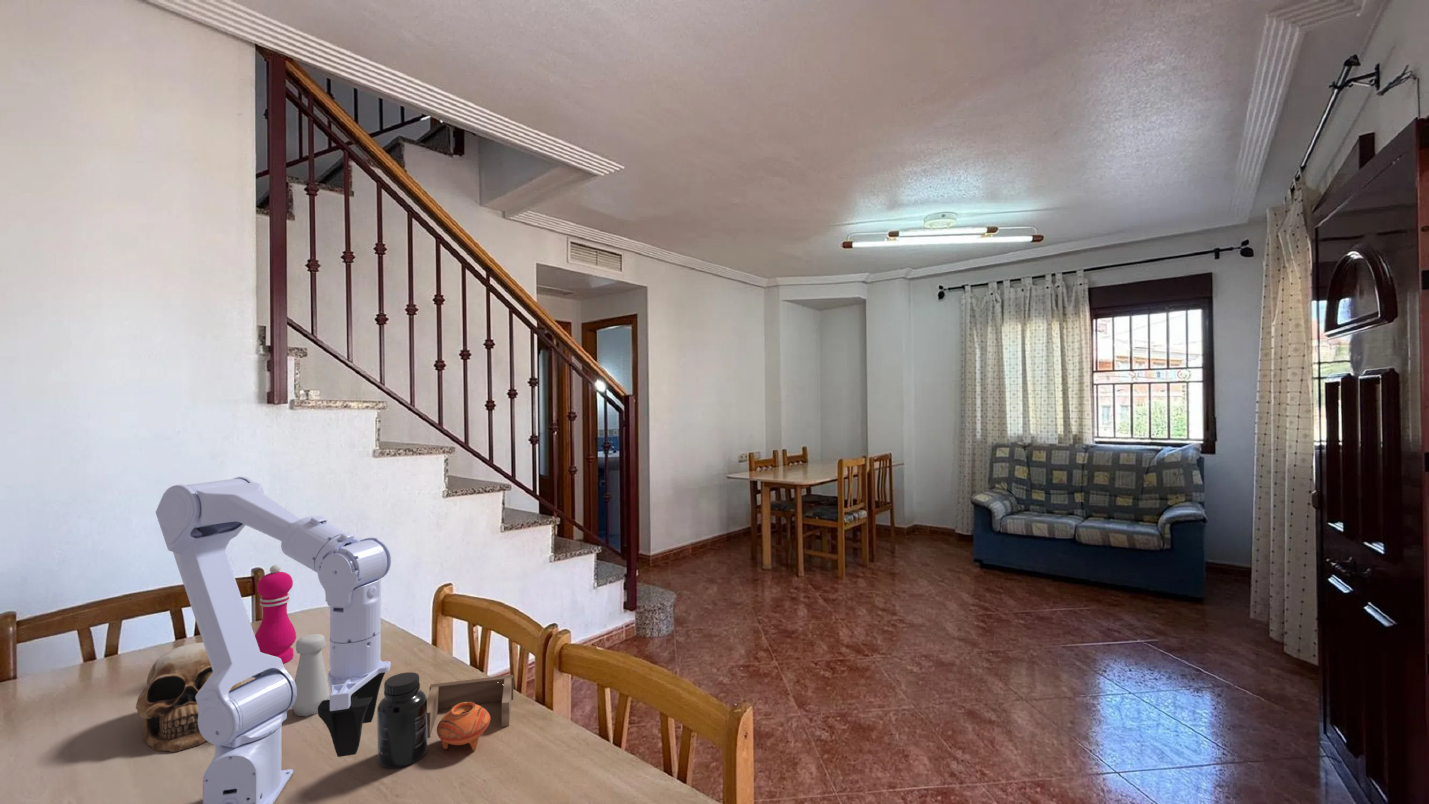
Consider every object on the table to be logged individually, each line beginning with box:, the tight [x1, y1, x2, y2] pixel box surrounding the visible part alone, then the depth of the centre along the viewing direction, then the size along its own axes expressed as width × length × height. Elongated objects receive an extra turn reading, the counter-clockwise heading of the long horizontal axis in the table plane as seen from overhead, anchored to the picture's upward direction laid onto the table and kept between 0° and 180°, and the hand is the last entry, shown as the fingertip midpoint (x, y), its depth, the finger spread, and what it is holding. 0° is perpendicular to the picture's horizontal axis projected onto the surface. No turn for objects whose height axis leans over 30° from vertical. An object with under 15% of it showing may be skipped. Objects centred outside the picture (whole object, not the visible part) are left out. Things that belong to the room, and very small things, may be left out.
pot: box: [436, 702, 492, 752], centre depth 95 cm, size 8×8×7 cm
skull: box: [135, 641, 242, 753], centre depth 101 cm, size 16×17×13 cm
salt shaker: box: [291, 633, 331, 717], centre depth 104 cm, size 6×6×13 cm
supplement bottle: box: [376, 671, 428, 769], centre depth 91 cm, size 7×7×12 cm
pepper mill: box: [254, 564, 297, 665], centre depth 123 cm, size 7×7×20 cm
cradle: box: [427, 674, 514, 738], centre depth 103 cm, size 10×14×4 cm
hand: (355, 737), depth 78 cm, fingers open, 7 cm apart
